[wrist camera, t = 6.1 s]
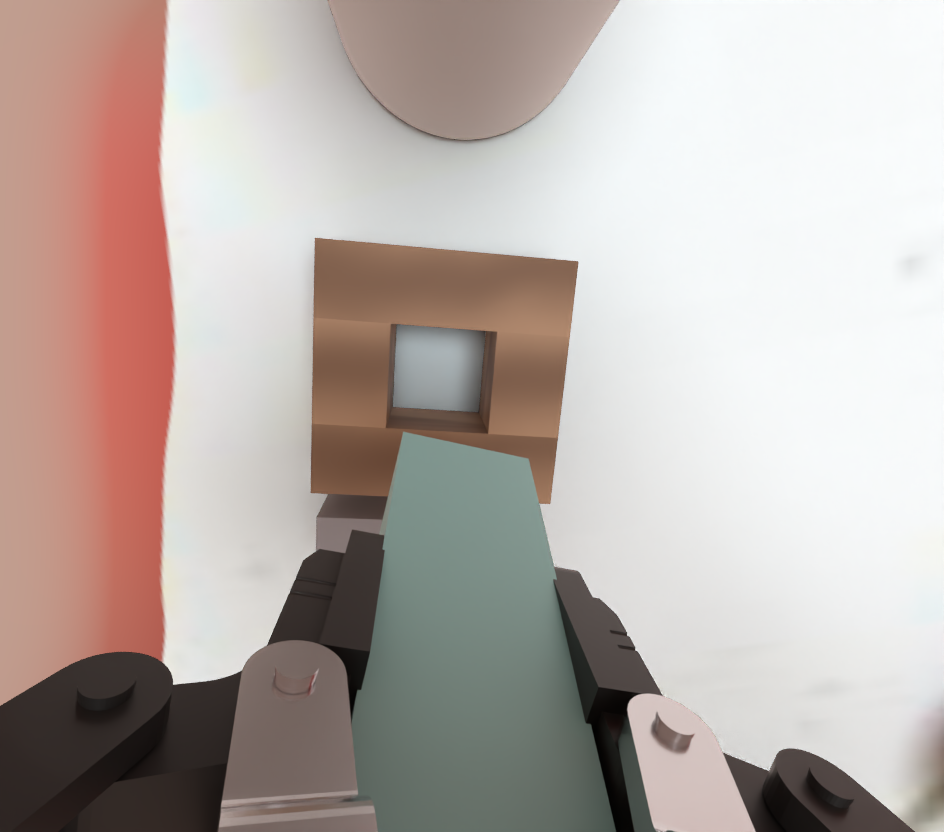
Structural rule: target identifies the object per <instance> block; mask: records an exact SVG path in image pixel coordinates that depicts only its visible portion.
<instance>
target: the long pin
mask: <svg viewBox="0 0 944 832" xmlns="http://www.w3.org/2000/svg"><path fill="white" fill-rule="evenodd" d="M379 534H380V535H384V543H383V550H385V553H384V560H383V567H382V574H381V581H380V588H379V594H378V601H377V608H376V615H375V622H374V629H373V636H372V643H371V650H370V655H369V659H368V663H367V667H366V672H365V676H364V680H363V684H362V689H361V690H357V694H356V698H355V702H354V707H353V711H352V715H351V726H352V736H353V747H354V758H355V769H356V779H357V789H358V795H359V796H366V795H368V796H370V798H371V799H372V802H373V805H374V809H375V814H376V821H377V829H378V832H616V829H615V825H614V821H613V816H612V812H611V808H610V804H609V799H608V795H607V791H606V787H605V782H604V778H603V774H602V769H601V765H600V761H599V757H598V752H597V748H596V744H595V740H594V735H593V731H592V727H591V724H586V723H585V718H584V714H583V710H582V705H581V701H580V696H579V692H578V687H577V683H576V679H575V674H574V670H573V665H572V661H571V656H570V652H569V648H568V643H567V639H566V634H565V630H564V625H563V621H562V617H561V612H560V608H559V603H558V599H557V594H556V590H555V586H554V581H553V579H556V580H557V578H556V573H555V569H554V565H553V561H552V556H551V552H550V548H549V544H548V539H547V535H546V531H545V526H544V522H543V518H542V514H541V509H540V505H539V501H538V497H537V492H536V488H535V484H534V480H533V475H532V471H531V467H530V462H529V459H528V458H523V457H518V456H514V455H509V454H504V453H500V452H495V451H490V450H486V449H481V448H477V447H472V446H467V445H463V444H458V443H453V442H449V441H444V440H439V439H435V438H430V437H425V436H421V435H416V434H412V433H407V432H403V435H402V440H401V444H400V448H399V452H398V456H397V461H396V465H395V469H394V473H393V478H392V482H391V486H390V490H389V495H388V499H387V503H386V507H385V511H384V516H383V520H382V524H381V528H380V533H379Z"/></svg>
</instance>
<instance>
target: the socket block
mask: <svg viewBox="0 0 944 832" xmlns="http://www.w3.org/2000/svg"><path fill="white" fill-rule="evenodd" d="M577 269H578V261H567V260H556V259H545V258H534V257H522V256H511V255H500V254H489V253H478V252H467V251H455V250H444V249H433V248H422V247H411V246H400V245H389V244H377V243H366V242H355V241H344V240H333V239H322V238H315V265H314V326H313V386H312V447H311V493H322V494H344V495H366V496H388V495H389V490H390V486H391V482H392V478H393V473H394V469H395V465H396V461H397V456H398V452H399V448H400V444H401V440H402V435H403V432H407V433H412V434H416V435H421V436H425V437H430V438H435V439H439V440H444V441H449V442H453V443H458V444H463V445H467V446H472V447H477V448H481V449H486V450H490V451H495V452H500V453H504V454H509V455H514V456H518V457H523V458H528V459H529V462H530V467H531V471H532V475H533V480H534V484H535V488H536V492H537V497H538V501H539V503H542V504H550V500H551V492H552V483H553V475H554V466H555V458H556V449H557V440H558V432H559V423H560V415H561V406H562V398H563V389H564V381H565V372H566V363H567V355H568V346H569V338H570V329H571V321H572V312H573V304H574V295H575V286H576V278H577ZM397 324H403V325H416V326H429V327H442V328H455V329H469V330H482V331H486V334H485V346H484V358H483V370H482V382H481V394H480V405H479V412H462V411H446V410H430V409H414V408H397V407H393V387H394V367H395V346H396V326H397Z"/></svg>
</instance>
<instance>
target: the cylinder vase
mask: <svg viewBox="0 0 944 832" xmlns="http://www.w3.org/2000/svg"><path fill="white" fill-rule="evenodd" d="M619 1H620V0H328V3H329V6H330V9H331V12H332V15H333V18H334V20H335V23H336V26H337V29H338V32H339V35H340V38H341V41H342V44H343V46H344V49H345V51H346V53H347V56H348V58H349V60H350V62H351V64H352V66H353V67H354V69H355V71H356V73H357V74H358V76H359V77H360V79H361V80H362V82H363V83H364V84H365V86H366V87H367V88H368V90H369V91H370V92H371V93H372V94H373V95H374V97H375V98H376V99H377V100H378V101H379V102H380V103H381V104H382V105H383V106H384V107H386V108H387V109H388V110H389V111H390V112H392V113H393V114H394V115H395V116H397V117H398V118H400V119H401V120H403V121H404V122H406V123H408V124H409V125H411V126H413V127H415V128H417V129H419V130H422V131H424V132H427V133H430V134H433V135H436V136H440V137H445V138H450V139H461V140H473V139H483V138H489V137H493V136H497V135H500V134H503V133H506V132H508V131H511V130H513V129H515V128H517V127H519V126H521V125H523V124H525V123H526V122H528V121H529V120H531V119H532V118H534V117H535V116H536V115H538V114H539V113H540V112H541V111H542V110H544V109H545V108H546V107H547V106H548V105H549V104H550V103H551V102H552V101H553V100H554V98H555V97H556V96H557V95H558V94H559V92H560V91H561V90H562V88H563V87H564V86H565V84H566V83H567V81H568V80H569V78H570V77H571V75H572V73H573V72H574V70H575V69H576V67H577V66H578V64H579V63H580V61H581V60H582V58H583V56H584V55H585V53H586V52H587V50H588V49H589V47H590V46H591V44H592V43H593V41H594V39H595V38H596V36H597V35H598V33H599V32H600V30H601V29H602V27H603V26H604V24H605V22H606V21H607V19H608V18H609V16H610V15H611V13H612V12H613V10H614V9H615V7H616V6H617V4H618V2H619Z"/></svg>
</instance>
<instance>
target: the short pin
mask: <svg viewBox="0 0 944 832" xmlns="http://www.w3.org/2000/svg"><path fill="white" fill-rule="evenodd" d="M387 499H388V496H366V495H344V494H328V496H327V498H326V500H325V502H324V504H323V506H322V508H321V510H320V512H319V514H318V516H317V533H316V551H317V550H319V549H324V550H329V551H335V552H341V553H345V552H346V548H347V545H348V541H349V538H350V534H351V531H352V529H353V530H359V531H364V532H369V533H375V534H379V533H380V528H381V524H382V520H383V516H384V511H385V507H386V503H387Z"/></svg>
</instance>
